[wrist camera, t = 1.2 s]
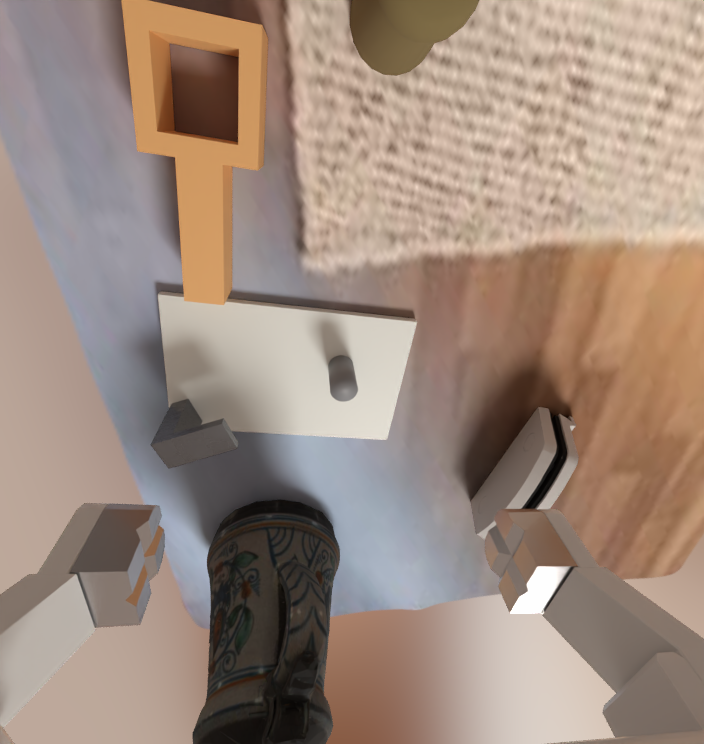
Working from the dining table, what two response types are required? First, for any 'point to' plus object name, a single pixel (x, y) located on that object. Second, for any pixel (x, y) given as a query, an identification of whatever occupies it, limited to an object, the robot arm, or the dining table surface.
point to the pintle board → (285, 366)
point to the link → (194, 152)
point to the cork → (404, 30)
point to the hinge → (528, 470)
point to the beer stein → (269, 626)
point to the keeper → (190, 436)
